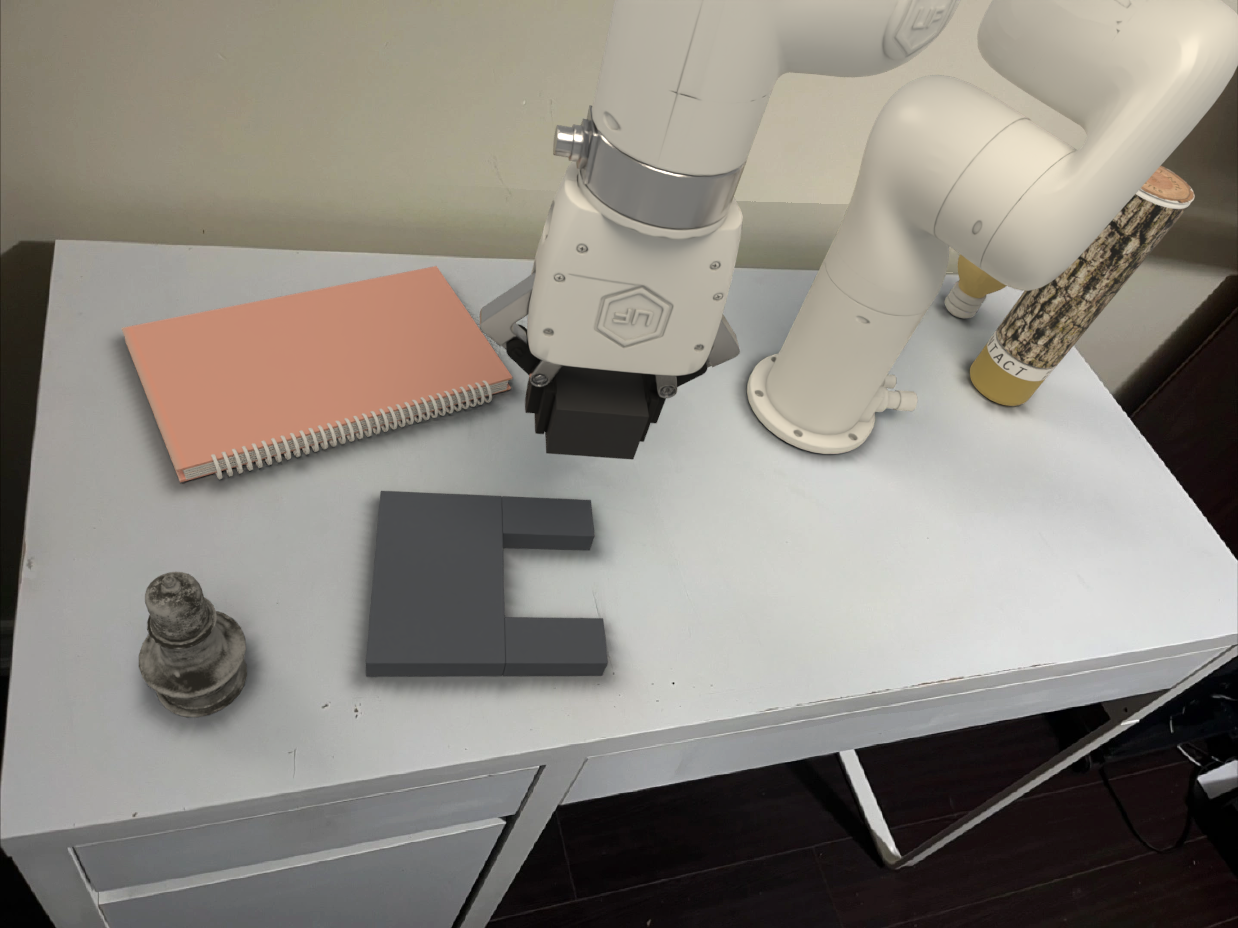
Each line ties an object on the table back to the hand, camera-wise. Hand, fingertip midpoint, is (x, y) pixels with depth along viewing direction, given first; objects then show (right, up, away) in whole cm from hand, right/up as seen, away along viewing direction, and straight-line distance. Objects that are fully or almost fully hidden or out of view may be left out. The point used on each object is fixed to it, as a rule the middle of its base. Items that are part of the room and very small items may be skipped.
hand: (588, 419), depth 54 cm
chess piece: (-25, -17, +1) cm, 30 cm away
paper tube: (+42, +5, +37) cm, 56 cm away
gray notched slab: (-8, -12, +9) cm, 17 cm away
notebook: (-23, +5, +19) cm, 30 cm away
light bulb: (+41, +15, +45) cm, 62 cm away
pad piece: (0, 0, 0) cm, 0 cm away
